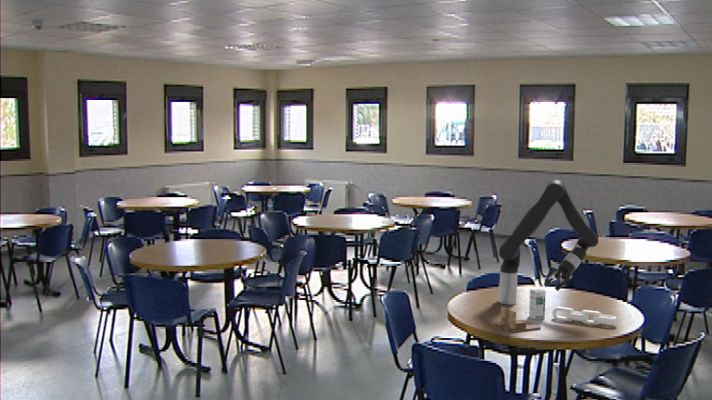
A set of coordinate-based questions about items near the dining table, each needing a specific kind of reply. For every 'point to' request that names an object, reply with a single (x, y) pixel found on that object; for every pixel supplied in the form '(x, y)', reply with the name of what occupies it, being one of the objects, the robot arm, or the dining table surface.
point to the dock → (514, 322)
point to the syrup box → (537, 304)
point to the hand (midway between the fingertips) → (550, 287)
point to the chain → (584, 316)
